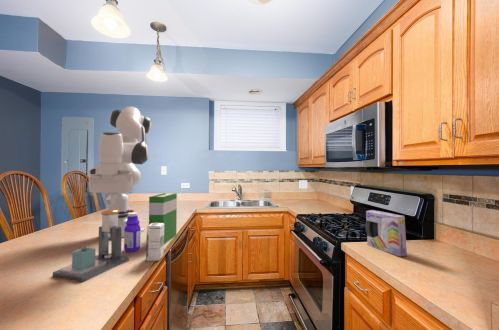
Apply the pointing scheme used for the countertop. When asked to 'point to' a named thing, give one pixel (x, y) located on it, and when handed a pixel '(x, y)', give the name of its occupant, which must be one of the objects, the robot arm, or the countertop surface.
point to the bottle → (132, 233)
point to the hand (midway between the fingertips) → (110, 204)
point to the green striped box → (164, 213)
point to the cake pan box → (386, 232)
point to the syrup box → (155, 242)
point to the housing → (83, 257)
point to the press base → (97, 259)
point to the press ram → (109, 221)
